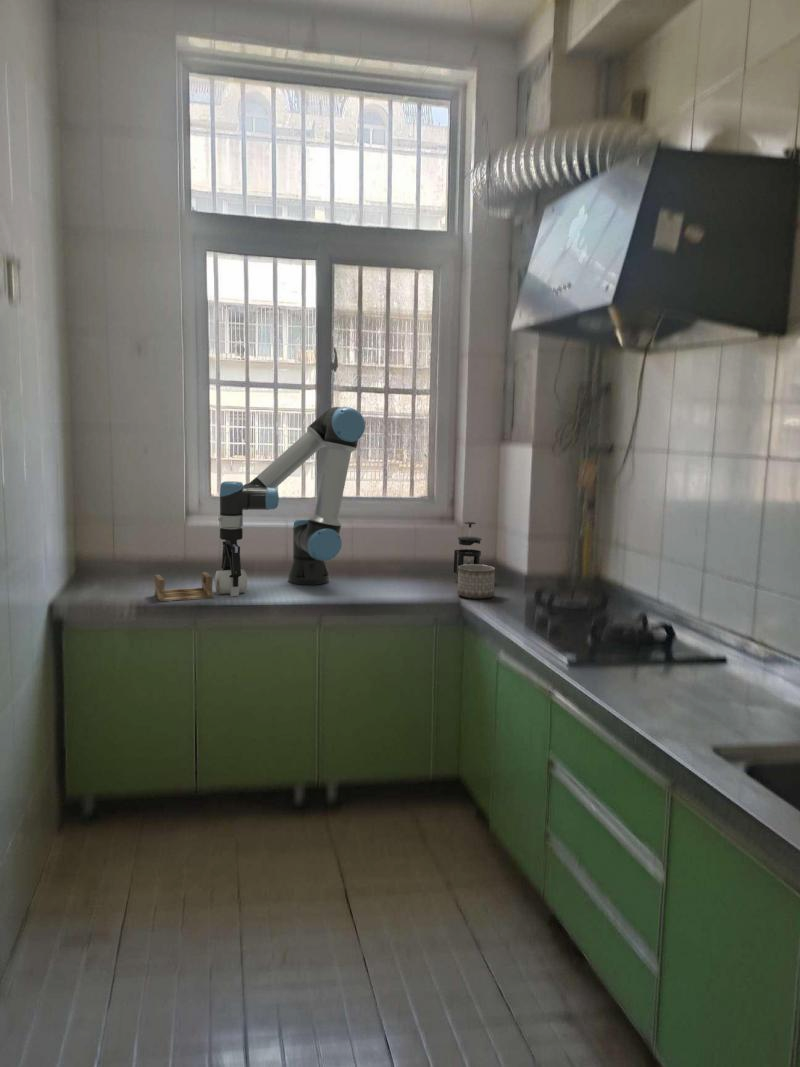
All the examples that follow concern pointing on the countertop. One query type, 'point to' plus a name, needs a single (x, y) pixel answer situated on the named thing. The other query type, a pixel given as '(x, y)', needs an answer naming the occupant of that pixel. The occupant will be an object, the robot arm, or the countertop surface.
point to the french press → (466, 551)
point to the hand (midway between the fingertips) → (231, 592)
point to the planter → (476, 580)
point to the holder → (184, 590)
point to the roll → (229, 582)
